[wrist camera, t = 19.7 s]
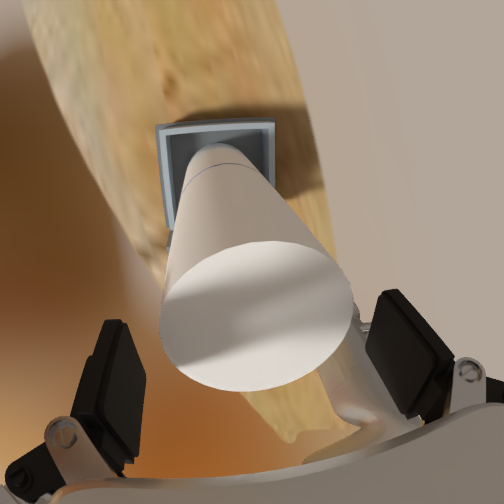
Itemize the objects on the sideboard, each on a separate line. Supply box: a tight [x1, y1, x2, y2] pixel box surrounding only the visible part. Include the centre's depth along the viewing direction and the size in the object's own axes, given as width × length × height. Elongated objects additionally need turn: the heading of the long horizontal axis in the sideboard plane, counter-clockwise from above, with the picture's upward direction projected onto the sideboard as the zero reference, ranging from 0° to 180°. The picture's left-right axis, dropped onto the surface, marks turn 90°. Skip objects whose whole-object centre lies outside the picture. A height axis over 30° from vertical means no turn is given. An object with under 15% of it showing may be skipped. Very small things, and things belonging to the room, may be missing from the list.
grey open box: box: [155, 117, 276, 253], centre depth 31 cm, size 12×13×12 cm
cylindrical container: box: [159, 143, 353, 391], centre depth 21 cm, size 7×7×25 cm
